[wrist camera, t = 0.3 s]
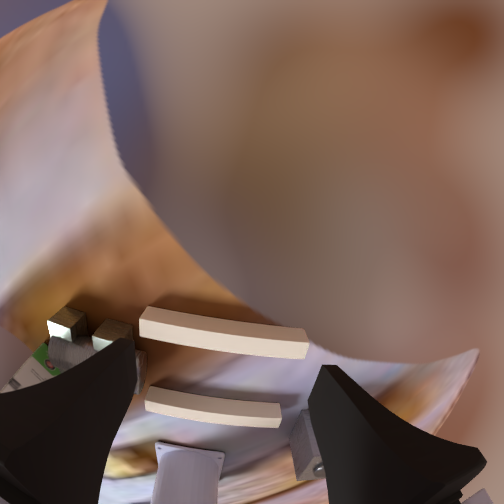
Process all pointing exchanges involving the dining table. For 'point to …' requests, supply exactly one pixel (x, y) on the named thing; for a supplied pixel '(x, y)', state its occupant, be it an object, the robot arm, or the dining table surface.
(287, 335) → the guide rails
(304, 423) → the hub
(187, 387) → the dining table surface
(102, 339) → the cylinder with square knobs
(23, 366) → the ink box
